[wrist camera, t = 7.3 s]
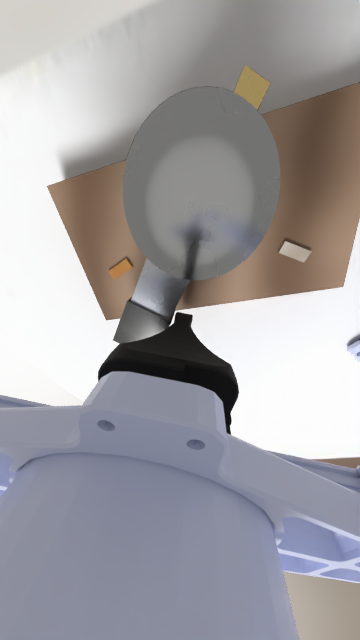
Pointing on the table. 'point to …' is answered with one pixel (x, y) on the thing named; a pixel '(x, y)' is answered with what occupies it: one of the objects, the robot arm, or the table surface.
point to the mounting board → (284, 231)
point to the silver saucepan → (196, 195)
